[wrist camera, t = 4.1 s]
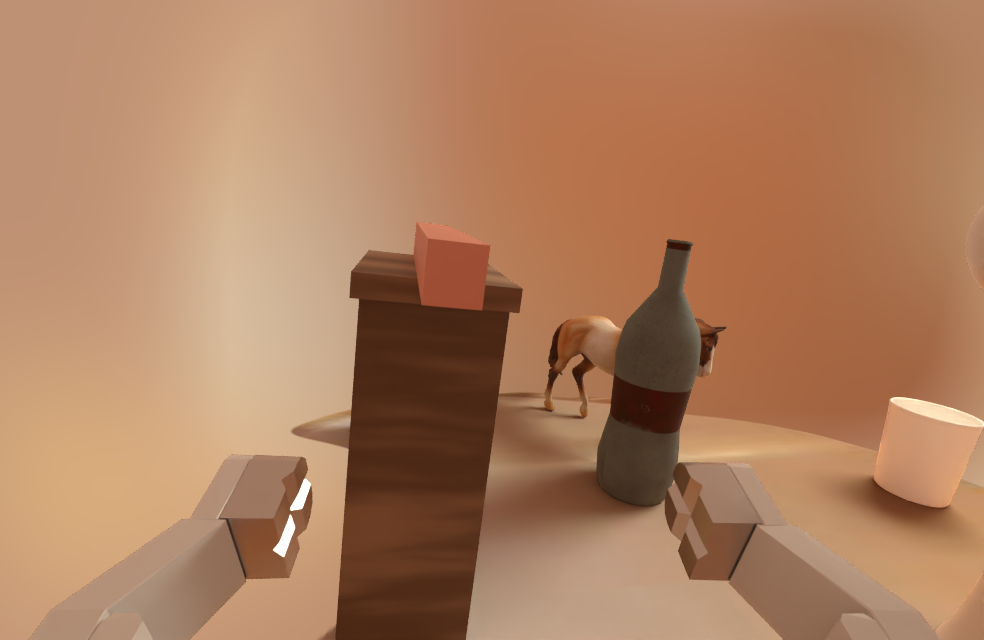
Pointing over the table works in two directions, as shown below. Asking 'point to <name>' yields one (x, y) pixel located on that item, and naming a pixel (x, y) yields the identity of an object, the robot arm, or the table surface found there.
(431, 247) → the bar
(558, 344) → the horse figurine
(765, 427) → the table surface
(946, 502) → the candle holder
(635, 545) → the table surface
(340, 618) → the stand
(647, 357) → the bottle
